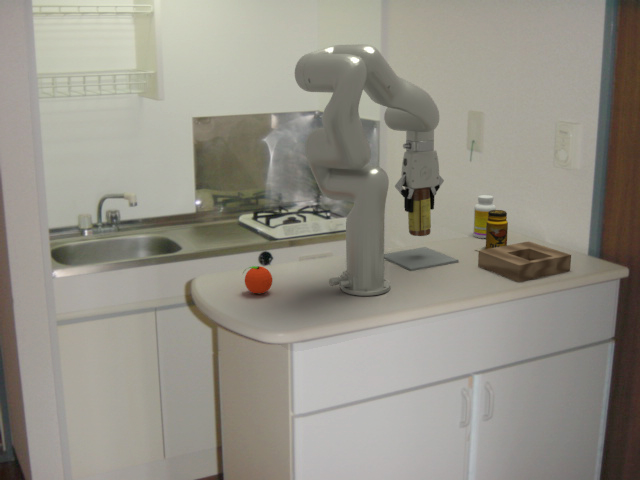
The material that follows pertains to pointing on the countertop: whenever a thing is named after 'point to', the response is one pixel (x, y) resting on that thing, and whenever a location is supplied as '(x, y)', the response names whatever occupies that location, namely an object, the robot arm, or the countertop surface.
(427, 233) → the sauce bottle
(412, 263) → the rubber mat
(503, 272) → the socket block
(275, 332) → the countertop surface
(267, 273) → the clementine
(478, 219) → the supplement bottle
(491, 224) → the condiment
